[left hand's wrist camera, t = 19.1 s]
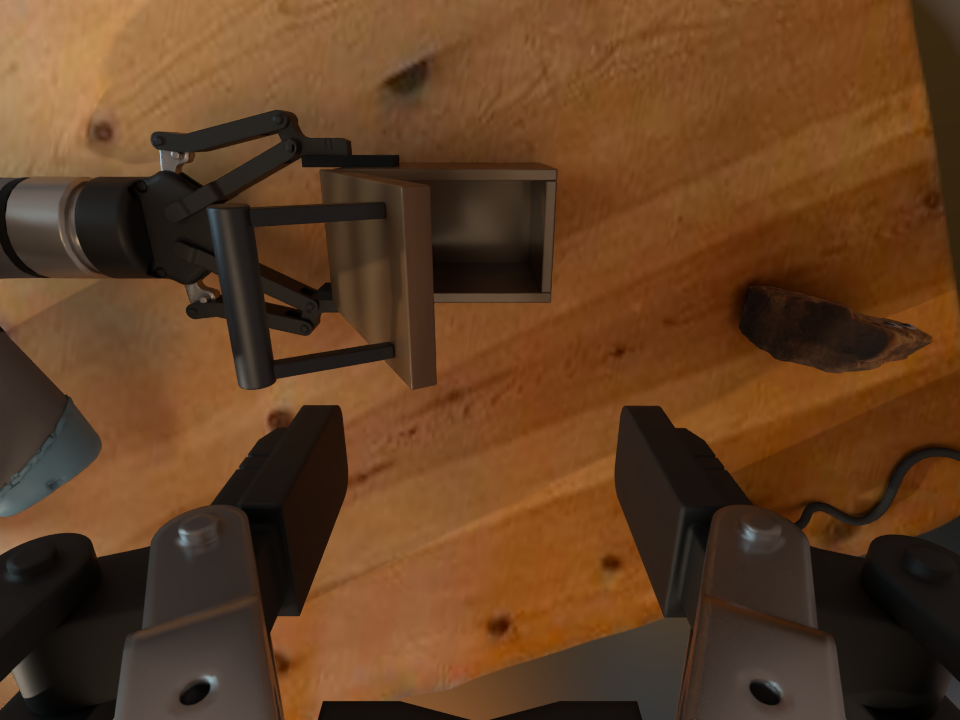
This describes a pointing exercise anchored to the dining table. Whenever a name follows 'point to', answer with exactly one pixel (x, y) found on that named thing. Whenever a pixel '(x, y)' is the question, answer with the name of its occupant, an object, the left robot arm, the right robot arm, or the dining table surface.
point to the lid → (339, 277)
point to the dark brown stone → (824, 332)
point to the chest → (487, 228)
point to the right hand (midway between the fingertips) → (400, 228)
